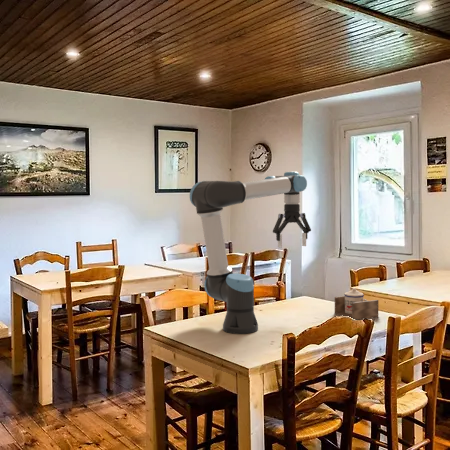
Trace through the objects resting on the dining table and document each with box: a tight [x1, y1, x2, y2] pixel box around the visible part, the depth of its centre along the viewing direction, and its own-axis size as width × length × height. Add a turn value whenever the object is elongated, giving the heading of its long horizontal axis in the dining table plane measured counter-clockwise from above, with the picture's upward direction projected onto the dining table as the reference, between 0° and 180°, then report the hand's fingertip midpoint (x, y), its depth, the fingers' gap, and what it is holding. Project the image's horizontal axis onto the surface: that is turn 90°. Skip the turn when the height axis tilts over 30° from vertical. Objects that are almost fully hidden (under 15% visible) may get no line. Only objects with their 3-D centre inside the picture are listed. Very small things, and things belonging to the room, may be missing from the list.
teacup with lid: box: [343, 287, 368, 314], centre depth 254 cm, size 12×9×12 cm
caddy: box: [334, 295, 379, 320], centre depth 254 cm, size 14×15×8 cm
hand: (292, 246), depth 264 cm, fingers open, 13 cm apart
